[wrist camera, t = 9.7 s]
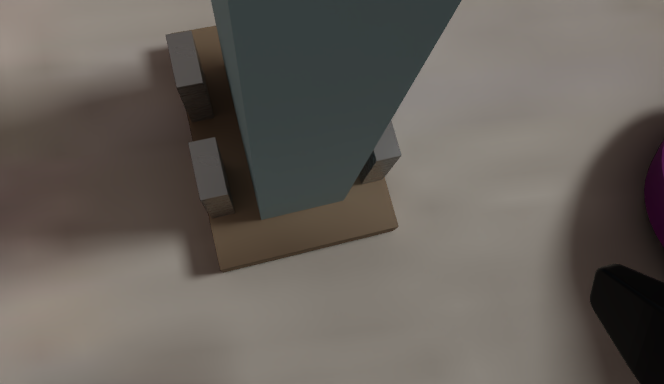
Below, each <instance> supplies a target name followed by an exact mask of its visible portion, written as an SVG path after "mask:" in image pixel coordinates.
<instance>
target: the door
mask: <svg viewBox="0 0 664 384" xmlns="http://www.w3.org/2000/svg"><path fill="white" fill-rule="evenodd" d="M211 2H212V7H213V12H214V17H215V22H216V27H217V32H218V36H219V41H220V46H221V51H222V56H223V61H224V66H225V70H226V74H227V78H228V82H229V87H230V91H231V95H232V99H233V103H234V108H235V112H236V116H237V120H238V124H239V129H240V133H241V137H242V141H243V145H244V150H245V154H246V158H247V162H248V166H249V171H250V175H251V179H252V183H253V187H254V192H255V196H256V200H257V204H258V208H259V213H260V217H261V220H264V219H268V218H272V217H276V216H280V215H285V214H289V213H293V212H297V211H301V210H306V209H310V208H314V207H318V206H322V205H327V204H331V203H335V202H339V201H343V200H344V199H345V197H346V196H347V194H348V192H349V191H350V189H351V187H352V185H353V184H354V182H355V180H356V179H357V177H358V175H359V174H360V172H361V170H362V168H363V167H364V165H365V163H366V162H367V160H368V158H369V157H370V155H371V153H372V151H373V150H374V148H375V146H376V145H377V143H378V141H379V140H380V138H381V136H382V135H383V133H384V131H385V129H386V128H387V126H388V124H389V123H390V121H391V119H392V118H393V116H394V114H395V112H396V111H397V109H398V107H399V106H400V104H401V102H402V101H403V99H404V97H405V95H406V94H407V92H408V90H409V89H410V87H411V85H412V84H413V82H414V80H415V78H416V77H417V75H418V73H419V72H420V70H421V68H422V67H423V65H424V63H425V61H426V60H427V58H428V56H429V55H430V53H431V51H432V50H433V48H434V46H435V44H436V43H437V41H438V39H439V38H440V36H441V34H442V33H443V31H444V29H445V27H446V26H447V24H448V22H449V21H450V19H451V17H452V16H453V14H454V12H455V10H456V9H457V7H458V5H459V4H460V2H461V0H211Z"/></svg>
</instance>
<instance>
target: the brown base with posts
mask: <svg viewBox="0 0 664 384" xmlns="http://www.w3.org/2000/svg"><path fill="white" fill-rule="evenodd" d="M166 40H167V44H168V49H169V54H170V59H171V63H172V68H173V73H174V78H175V82H176V87H177V90H178V92H179V94H180V97H181V99H182V101H183V103H184V106H185V108H186V111H187V116H188V121H189V125H190V130H191V135H192V140H193V142H189V143H188V144H189V149H190V154H191V159H192V163H193V168H194V173H195V178H196V182H197V187H198V192H199V197H200V201H201V202H202V204H203V205H204V207H205V208H206V210H207V211H208V215H209V220H210V224H211V229H212V234H213V239H214V243H215V248H216V253H217V258H218V262H219V267H220V270H221V271H222V272H227V271H231V270H235V269H240V268H244V267H248V266H252V265H256V264H260V263H264V262H268V261H272V260H276V259H280V258H284V257H288V256H293V255H297V254H301V253H305V252H309V251H313V250H317V249H321V248H325V247H329V246H333V245H337V244H341V243H345V242H350V241H354V240H358V239H362V238H366V237H370V236H374V235H378V234H382V233H386V232H390V231H393V230H395V229H396V228H397V227H399V226H398V223H397V219H396V216H395V212H394V209H393V205H392V202H391V198H390V195H389V191H388V188H387V184H386V181H385V176H386V174H387V173H388V172H389V171H390V169H391V168H392V167H393V166H394V164H395V163H396V162H397V160H398V159H399V158H400V157H401V152H400V149H399V146H398V142H397V139H396V135H395V132H394V129H393V125H392V122H391V121H390V123H389V124H388V126H387V128H386V129H385V131H384V133H383V135H382V136H381V138H380V140H379V141H378V143H377V145H376V146H375V148H374V150H373V151H372V153H371V155H370V157H369V158H368V160H367V162H366V163H365V165H364V167H363V168H362V170H361V172H360V174H359V175H358V177H357V179H356V180H355V182H354V184H353V185H352V187H351V189H350V191H349V192H348V194H347V196H346V197H345V199H344V200H343V201H339V202H335V203H331V204H327V205H322V206H318V207H314V208H310V209H306V210H301V211H297V212H293V213H289V214H285V215H280V216H276V217H272V218H268V219H264V220H261V217H260V213H259V208H258V204H257V200H256V196H255V192H254V187H253V183H252V179H251V175H250V171H249V166H248V162H247V158H246V154H245V150H244V145H243V141H242V137H241V133H240V129H239V124H238V120H237V116H236V112H235V108H234V103H233V99H232V95H231V91H230V87H229V82H228V78H227V74H226V70H225V66H224V61H223V56H222V51H221V46H220V41H219V36H218V32H217V27H216V26H212V27H206V28H200V29H194V30H189V31H183V32H177V33H171V34H167V35H166Z"/></svg>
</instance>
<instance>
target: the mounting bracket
mask: <svg viewBox="0 0 664 384" xmlns="http://www.w3.org/2000/svg"><path fill="white" fill-rule="evenodd" d="M644 194H645V205H646V210H647V214H648V217H649V220H650V223H651V225H652V227H653V229H654V232H655V234H656V236H657V237H658V239H659V241H660V242H661V244H662V246H663V247H664V140H663V142H662V144H661V145H660V147H659V149H658V151H657V153H656V155H655V156H654V158H653V160H652V163H651V165H650V167H649V170H648V173H647V176H646V180H645V188H644Z"/></svg>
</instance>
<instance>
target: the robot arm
mask: <svg viewBox="0 0 664 384" xmlns="http://www.w3.org/2000/svg"><path fill="white" fill-rule="evenodd" d="M590 302H591V306H592V308H593V310H594V312H595V313H596V315H597V316H598V318H599V320H600V321H601V323H602V325H603V326H604V328H605V329H606V331H607V333H608V334H609V336H610V338H611V339H612V341H613V342H614V344H615V346H616V347H617V349H618V351H619V352H620V354H621V355H622V357H623V359H624V360H625V362H626V364H627V365H628V367H629V368H630V370H631V371H632V373H633V374H634V375H635V377H636V378H637V380H638V381H639V382H640V384H664V282H661V281H659V280H656V279H654V278H652V277H649V276H647V275H644V274H642V273H640V272H637V271H635V270H632V269H630V268H628V267H625V266H623V265H620V264H612V265H608V266H604V267H601V268H599V269H598V270H597V271H596V273H595V277H594V281H593V285H592V290H591V294H590Z"/></svg>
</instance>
